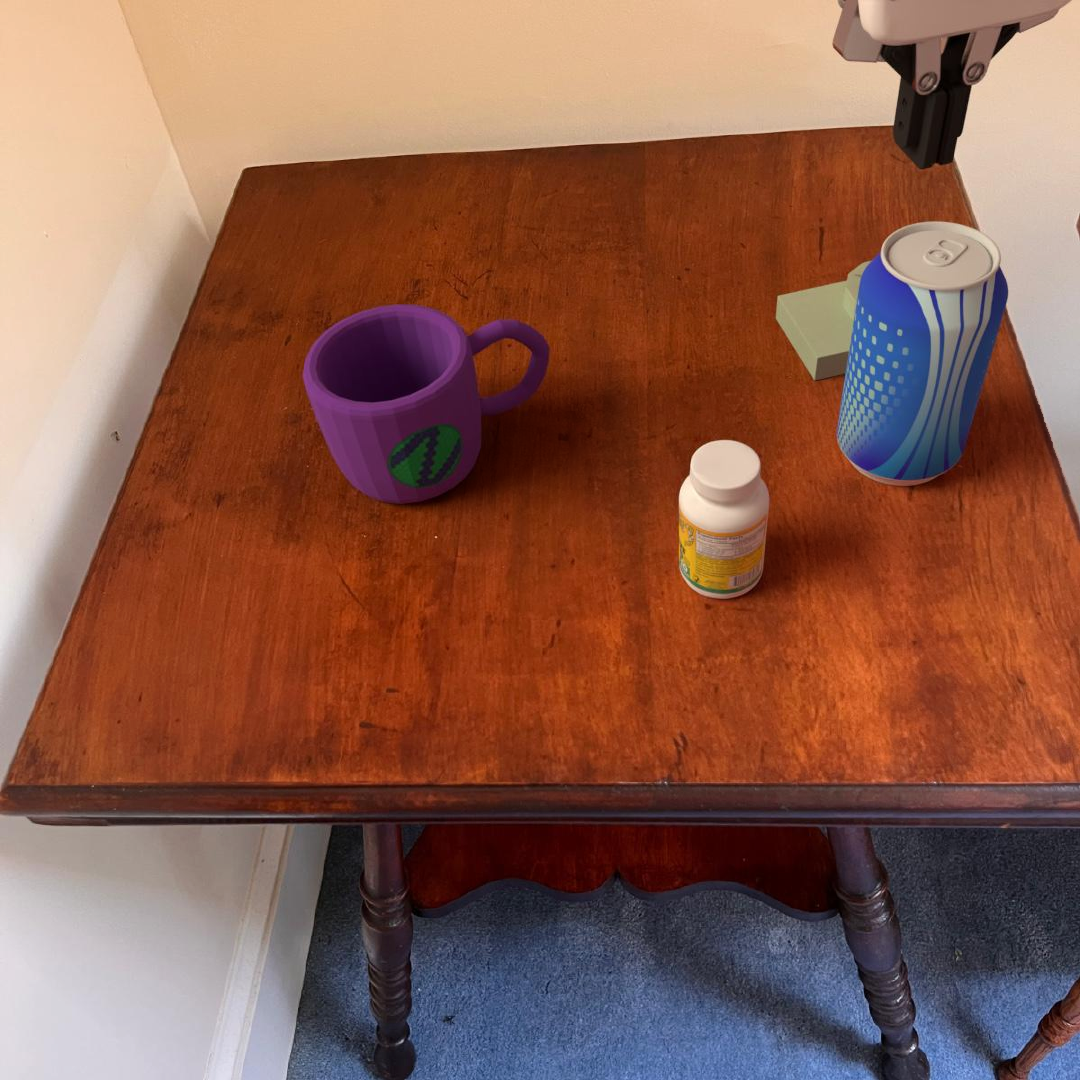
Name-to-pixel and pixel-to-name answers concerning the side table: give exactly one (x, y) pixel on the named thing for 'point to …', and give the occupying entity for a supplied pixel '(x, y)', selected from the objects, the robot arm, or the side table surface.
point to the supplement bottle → (723, 520)
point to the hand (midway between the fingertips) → (923, 153)
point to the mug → (409, 397)
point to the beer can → (920, 351)
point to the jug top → (821, 323)
